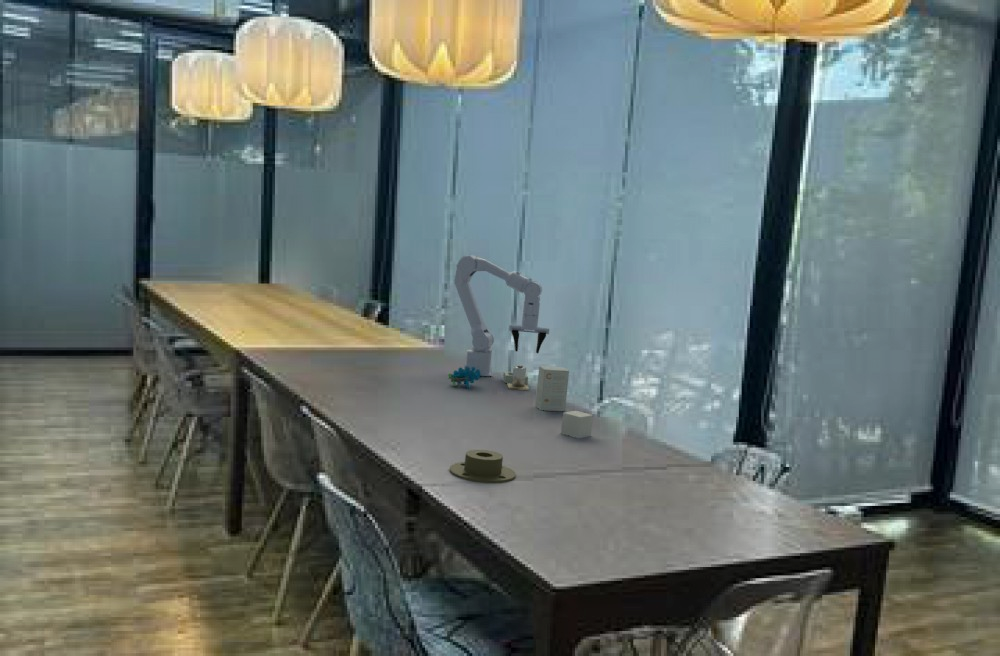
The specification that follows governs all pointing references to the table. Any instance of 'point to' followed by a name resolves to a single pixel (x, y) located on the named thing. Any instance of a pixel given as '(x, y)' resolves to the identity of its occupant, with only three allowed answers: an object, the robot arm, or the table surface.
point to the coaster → (517, 387)
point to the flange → (483, 467)
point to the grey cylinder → (518, 376)
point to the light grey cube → (577, 424)
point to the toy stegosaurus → (465, 376)
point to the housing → (508, 377)
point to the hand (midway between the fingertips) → (526, 351)
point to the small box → (552, 388)
